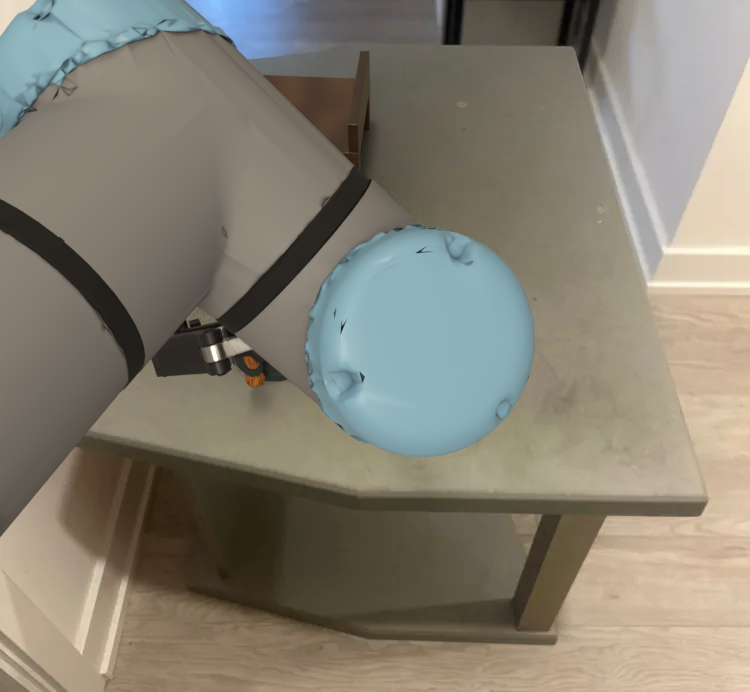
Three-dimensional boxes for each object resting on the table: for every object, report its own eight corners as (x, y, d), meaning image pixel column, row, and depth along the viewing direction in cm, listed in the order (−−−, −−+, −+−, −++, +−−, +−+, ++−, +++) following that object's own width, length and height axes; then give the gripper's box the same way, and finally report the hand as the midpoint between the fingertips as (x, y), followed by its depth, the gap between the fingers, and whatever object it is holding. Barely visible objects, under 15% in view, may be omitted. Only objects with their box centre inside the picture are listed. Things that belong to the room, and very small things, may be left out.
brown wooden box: (236, 192, 95) (222, 119, 87) (258, 118, 105) (247, 46, 97) (359, 198, 95) (357, 124, 86) (370, 123, 104) (369, 50, 96)
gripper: (114, 474, 35) (139, 405, 56) (571, 325, 41) (441, 312, 61) (63, 324, 34) (108, 310, 55) (539, 191, 40) (418, 223, 60)
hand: (284, 311), depth 58 cm, fingers open, 13 cm apart
